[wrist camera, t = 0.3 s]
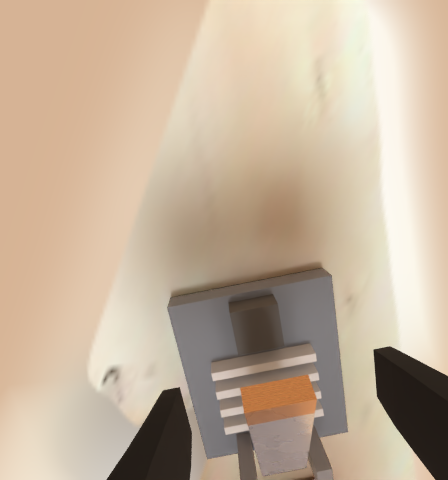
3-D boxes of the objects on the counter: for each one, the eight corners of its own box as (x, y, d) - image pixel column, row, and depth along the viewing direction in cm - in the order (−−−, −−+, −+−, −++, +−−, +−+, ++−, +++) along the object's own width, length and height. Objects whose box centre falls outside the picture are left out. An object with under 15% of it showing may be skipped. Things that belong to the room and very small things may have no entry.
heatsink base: (338, 414, 22) (374, 482, 17) (207, 440, 22) (206, 514, 17) (322, 267, 19) (360, 299, 14) (170, 297, 19) (156, 338, 14)
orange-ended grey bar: (301, 451, 19) (306, 469, 18) (259, 459, 19) (263, 478, 18) (308, 374, 12) (317, 399, 11) (240, 387, 12) (244, 413, 11)
